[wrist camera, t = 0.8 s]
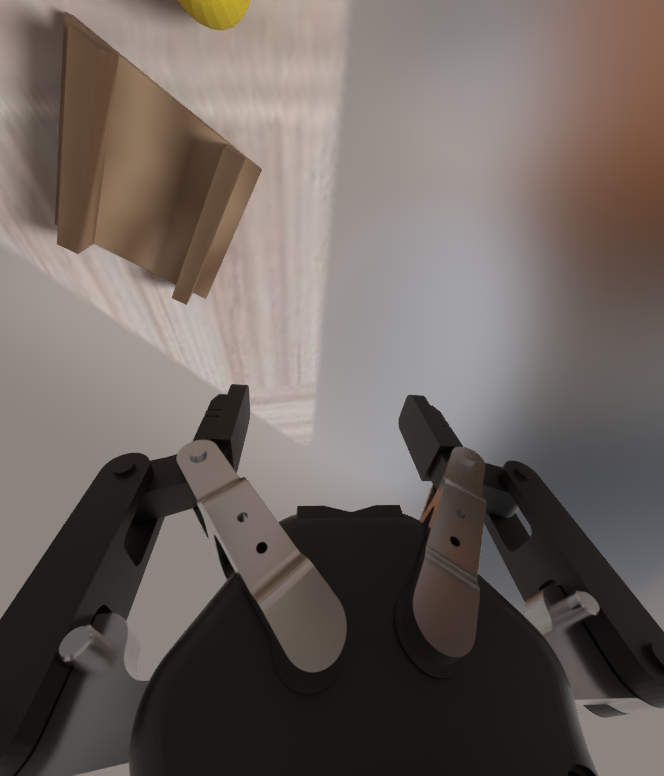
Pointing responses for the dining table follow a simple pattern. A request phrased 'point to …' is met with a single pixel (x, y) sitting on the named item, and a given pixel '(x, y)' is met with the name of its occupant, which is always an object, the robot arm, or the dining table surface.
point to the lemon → (216, 12)
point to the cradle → (142, 170)
